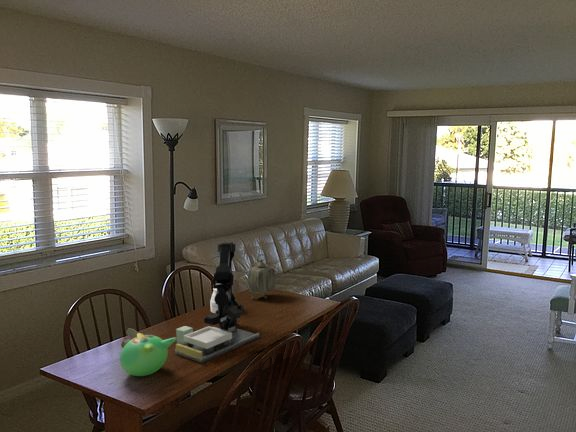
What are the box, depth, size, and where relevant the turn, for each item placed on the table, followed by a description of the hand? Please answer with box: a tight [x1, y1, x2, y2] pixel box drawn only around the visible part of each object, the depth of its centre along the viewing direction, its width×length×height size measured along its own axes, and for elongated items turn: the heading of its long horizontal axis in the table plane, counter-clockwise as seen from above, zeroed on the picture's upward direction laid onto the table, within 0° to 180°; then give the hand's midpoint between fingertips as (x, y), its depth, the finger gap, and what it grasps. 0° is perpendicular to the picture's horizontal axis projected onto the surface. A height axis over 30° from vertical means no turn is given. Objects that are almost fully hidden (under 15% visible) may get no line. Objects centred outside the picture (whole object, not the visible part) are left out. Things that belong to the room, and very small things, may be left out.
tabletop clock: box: [247, 253, 276, 300], centre depth 276 cm, size 14×9×25 cm, turn 145°
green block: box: [175, 325, 194, 346], centre depth 214 cm, size 5×5×6 cm
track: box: [174, 326, 261, 364], centre depth 210 cm, size 16×34×4 cm, turn 141°
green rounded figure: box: [119, 332, 177, 377], centre depth 183 cm, size 18×17×15 cm
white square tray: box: [184, 325, 232, 354], centre depth 205 cm, size 14×15×5 cm
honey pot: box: [209, 288, 218, 315], centre depth 257 cm, size 13×13×18 cm
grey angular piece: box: [120, 328, 139, 349], centre depth 207 cm, size 9×6×10 cm
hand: (225, 334), depth 212 cm, fingers closed
